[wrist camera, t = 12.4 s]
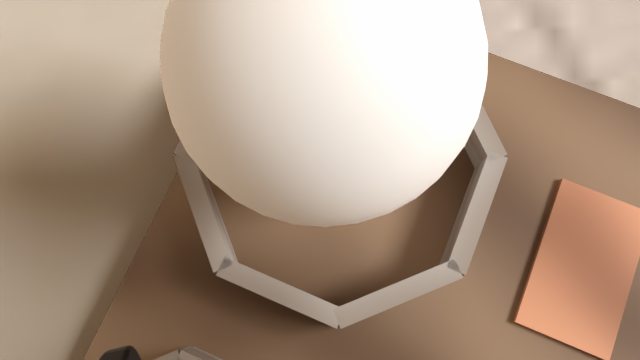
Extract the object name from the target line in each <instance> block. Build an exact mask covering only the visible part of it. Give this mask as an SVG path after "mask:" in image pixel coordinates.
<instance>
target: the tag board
mask: <svg viewBox="0 0 640 360" xmlns="http://www.w3.org/2000/svg"><path fill="white" fill-rule="evenodd" d="M173 153H174V154H175V156H173V158H174V161H175V164H176V167H177V170H178V172H177V174H176V176H175V178H174V180H173V182H172V184H171V186H170V188H169V190H168V192H167V194H166V196H165V198H164V200H163V202H162V204H161V206H160V208H159V210H158V212H157V214H156V216H155V218H154V220H153V222H152V224H151V226H150V228H149V230H148V232H147V234H146V236H145V238H144V240H143V242H142V244H141V246H140V248H139V250H138V252H137V254H136V256H135V258H134V260H133V261H132V263H131V265H130V267H129V269H128V271H127V273H126V275H125V277H124V279H123V281H122V283H121V285H120V287H119V289H118V291H117V293H116V295H115V297H114V299H113V301H112V303H111V305H110V307H109V309H108V311H107V313H106V315H105V317H104V319H103V321H102V323H101V325H100V327H99V329H98V331H97V333H96V335H95V337H94V339H93V341H92V343H91V345H90V347H89V349H88V351H87V353H86V355H85V357H84V359H83V360H98V359H99V358H100V357H101V355H102V354H103V353H104V352H106V351H108V350H110V349H114V348H119V347H123V346H127V345H130V346H133V347H134V348H135V349H136V350H137V352H138V354H139V356H140V358H141V360H640V108H638V107H635V106H632V105H630V104H627V103H624V102H621V101H619V100H616V99H613V98H611V97H608V96H605V95H602V94H600V93H597V92H594V91H591V90H589V89H586V88H583V87H581V86H578V85H575V84H572V83H570V82H567V81H564V80H562V79H559V78H556V77H553V76H551V75H548V74H545V73H543V72H540V71H537V70H534V69H532V68H529V67H526V66H523V65H521V64H518V63H515V62H513V61H510V60H507V59H504V58H502V57H499V56H496V55H494V54H491V53H488V73H487V81H486V88H485V92H484V96H483V101H482V105H481V109H480V113H479V117H478V120H477V122H476V124H475V126H474V128H473V130H472V132H471V134H470V136H469V138H468V140H467V142H466V144H465V146H464V148H463V149H462V150H461V152H460V153H459V154H458V155H457V157H456V158H455V159H454V161H453V162H452V163H451V164H450V166H449V167H448V168H447V170H446V171H445V172H444V173H443V175H442V176H441V177H440V178H439V179H438V180H437V181H436V182H435V183H434V184H432V185H431V186H430V187H429V188H428V189H427V190H425V191H424V192H423V193H422V194H421V195H420V196H418V197H417V198H416V199H414V200H412V201H410V202H409V203H407V204H405V205H403V206H401V207H400V208H398V209H396V210H394V211H392V212H391V213H389V214H386V215H383V216H379V217H376V218H373V219H370V220H367V221H364V222H361V223H357V224H348V225H339V226H330V227H320V226H308V225H296V224H291V223H288V222H284V221H281V220H277V219H274V218H270V217H267V216H263V215H261V214H259V213H257V212H256V211H254V210H252V209H250V208H248V207H246V206H244V205H242V204H240V203H238V202H236V201H235V200H234V199H232V198H231V197H230V196H229V195H227V194H226V193H225V192H224V191H223V190H221V189H220V188H219V187H218V186H216V185H215V184H214V183H213V182H212V181H211V180H210V179H209V178H208V177H207V176H206V175H205V174H204V173H203V172H202V170H201V169H200V168H199V167H198V166H197V164H196V163H195V162H194V161H193V159H192V158H191V157H190V156H189V154H188V153H187V152H186V150H185V148H184V147H183V145H182V143H181V141H180V140H179V142H178V144H177V146H176V148H175V150H174V152H173Z"/></svg>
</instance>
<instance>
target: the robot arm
mask: <svg viewBox="0 0 640 360" xmlns="http://www.w3.org/2000/svg"><path fill="white" fill-rule="evenodd" d="M98 360H141V358H140V356H139V354H138V352H137V350H136V349H135V348H134V347H133V346H130V345H127V346H123V347H119V348H114V349H110V350H108V351H106V352H104V353H103V354H102V355H101V357H100V358H99V359H98Z"/></svg>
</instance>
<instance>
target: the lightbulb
mask: <svg viewBox="0 0 640 360" xmlns="http://www.w3.org/2000/svg"><path fill="white" fill-rule="evenodd" d="M160 69H161V84H162V88H163V92H164V96H165V100H166V104H167V108H168V111H169V115H170V118H171V122H172V125H173V127H174V129H175V131H176V133H177V135H178V137H179V139H180V141H181V143H182V145H183V147H184V148H185V150H186V152H187V153H188V154H189V156H190V157H191V158H192V159H193V161H194V162H195V163H196V164H197V166H198V167H199V168H200V169H201V170H202V172H203V173H204V174H205V175H206V176H207V177H208V178H209V179H210V180H211V181H212V182H213V183H214V184H215V185H216V186H218V187H219V188H220V189H221V190H223V191H224V192H225V193H226V194H227V195H229V196H230V197H231V198H232V199H234V200H235V201H236V202H238V203H240V204H242V205H244V206H246V207H248V208H250V209H252V210H254V211H256V212H257V213H259V214H261V215H263V216H267V217H270V218H274V219H277V220H281V221H284V222H288V223H291V224H296V225H308V226H320V227H330V226H339V225H348V224H357V223H361V222H364V221H367V220H370V219H373V218H376V217H379V216H383V215H386V214H389V213H391V212H392V211H394V210H396V209H398V208H400V207H401V206H403V205H405V204H407V203H409V202H410V201H412V200H414V199H416V198H417V197H418V196H420V195H421V194H422V193H423V192H424V191H425V190H427V189H428V188H429V187H430V186H431V185H432V184H434V183H435V182H436V181H437V180H438V179H439V178H440V177H441V176H442V175H443V173H444V172H445V171H446V170H447V168H448V167H449V166H450V164H451V163H452V162H453V161H454V159H455V158H456V157H457V155H458V154H459V153H460V152H461V150H462V149H463V148H464V146H465V144H466V142H467V140H468V138H469V136H470V134H471V132H472V130H473V128H474V126H475V124H476V122H477V120H478V117H479V113H480V109H481V105H482V101H483V96H484V92H485V88H486V81H487V73H488V42H487V37H486V32H485V28H484V23H483V18H482V13H481V8H480V3H479V0H170V1H169V4H168V6H167V9H166V12H165V18H164V24H163V29H162V35H161V44H160Z"/></svg>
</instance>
